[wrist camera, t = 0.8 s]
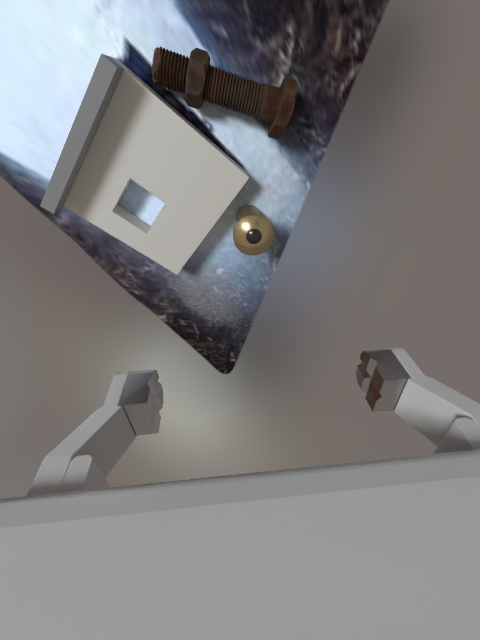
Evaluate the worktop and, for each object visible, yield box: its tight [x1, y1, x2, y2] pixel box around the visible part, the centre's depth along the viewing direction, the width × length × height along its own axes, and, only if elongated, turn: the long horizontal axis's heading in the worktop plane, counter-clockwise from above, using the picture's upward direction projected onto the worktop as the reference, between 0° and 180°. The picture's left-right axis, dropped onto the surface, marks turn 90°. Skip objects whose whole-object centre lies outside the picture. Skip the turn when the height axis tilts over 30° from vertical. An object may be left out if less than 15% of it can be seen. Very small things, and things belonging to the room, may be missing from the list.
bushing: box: [233, 205, 274, 255], centre depth 40 cm, size 5×5×7 cm
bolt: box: [152, 47, 298, 139], centre depth 32 cm, size 6×5×15 cm
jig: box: [40, 54, 249, 274], centre depth 37 cm, size 17×18×6 cm
